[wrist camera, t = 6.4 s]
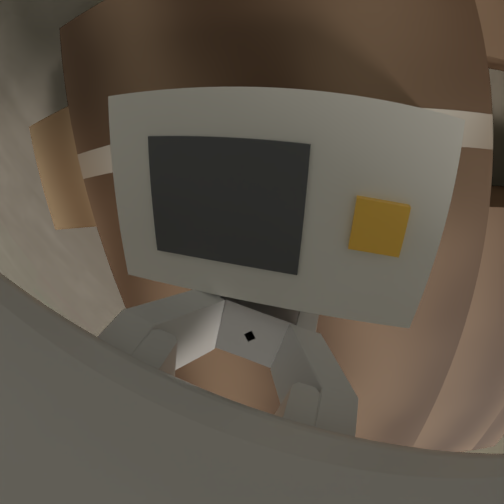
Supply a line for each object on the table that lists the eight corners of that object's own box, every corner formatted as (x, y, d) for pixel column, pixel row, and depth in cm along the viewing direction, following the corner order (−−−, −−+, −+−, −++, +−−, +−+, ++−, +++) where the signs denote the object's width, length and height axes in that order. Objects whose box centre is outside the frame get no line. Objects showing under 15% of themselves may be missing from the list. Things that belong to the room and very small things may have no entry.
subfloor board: (166, 397, 21) (151, 423, 19) (59, 55, 11) (20, 58, 9) (521, 409, 13) (528, 437, 11) (598, 29, 3) (628, 27, 1)
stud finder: (179, 228, 10) (125, 277, 8) (174, 91, 8) (103, 96, 5) (395, 262, 9) (409, 333, 6) (424, 112, 7) (468, 120, 4)
